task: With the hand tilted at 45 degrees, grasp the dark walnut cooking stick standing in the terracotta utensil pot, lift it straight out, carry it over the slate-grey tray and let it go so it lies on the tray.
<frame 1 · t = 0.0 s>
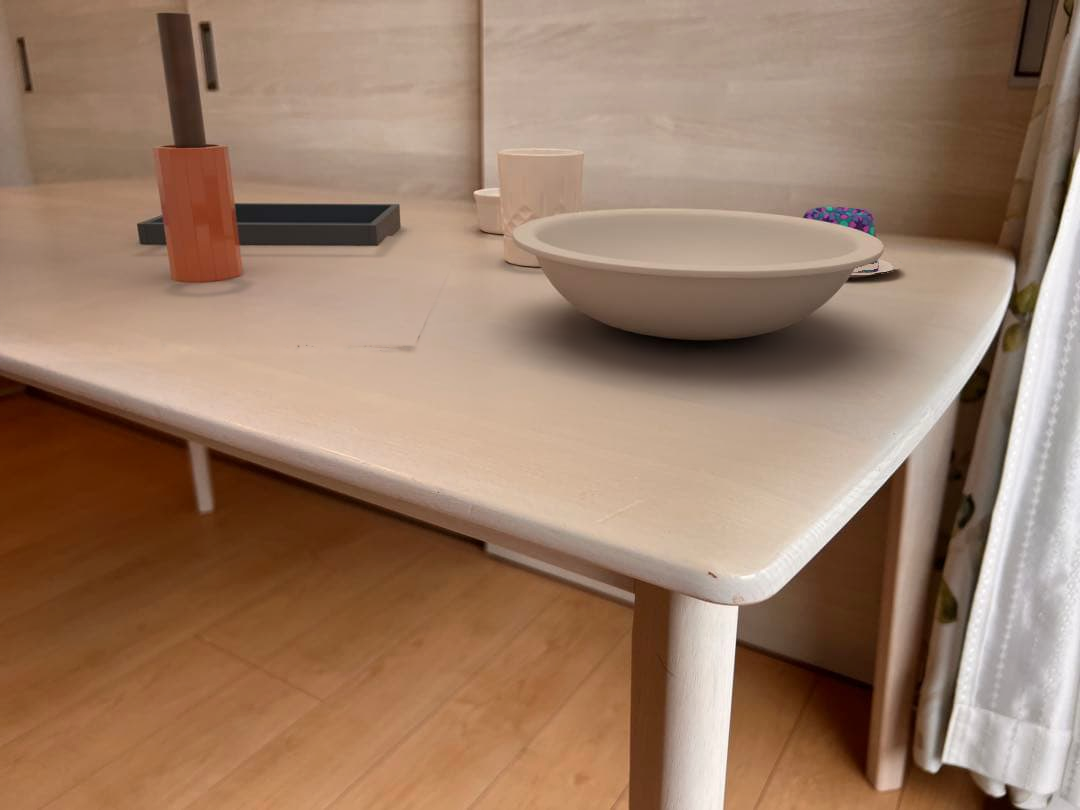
tray: (281, 237, 93), on the table
stick: (207, 274, 72), point 1 cm above the table, touching crock
white cup: (539, 262, 82), on the table
crock: (208, 281, 72), on the table
ramekin: (513, 231, 99), on the table
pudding: (832, 270, 79), on the table
soup bowl: (685, 331, 59), on the table
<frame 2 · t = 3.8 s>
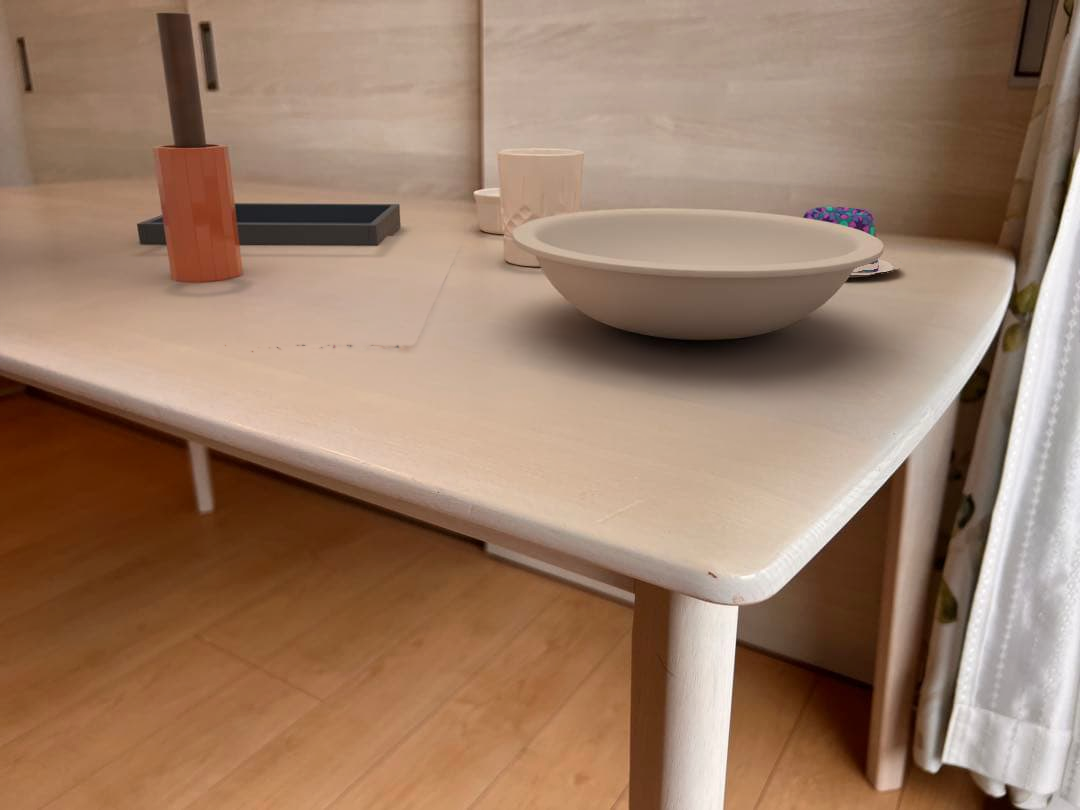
nothing on the table moved.
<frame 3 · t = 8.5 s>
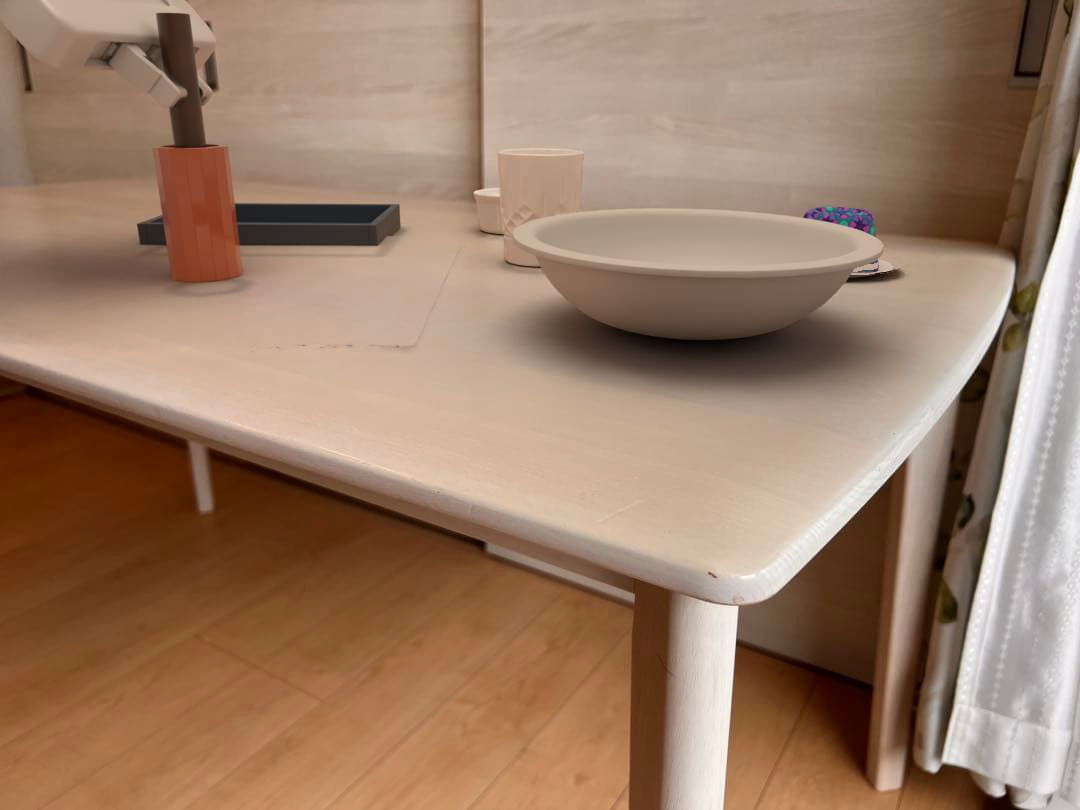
hand: (191, 101, 67), 14 cm above the table, tool tilted 45°, fingers closed on stick, 2 cm apart
stick: (207, 274, 72), point 1 cm above the table, touching crock, gripper
everything else where it was.
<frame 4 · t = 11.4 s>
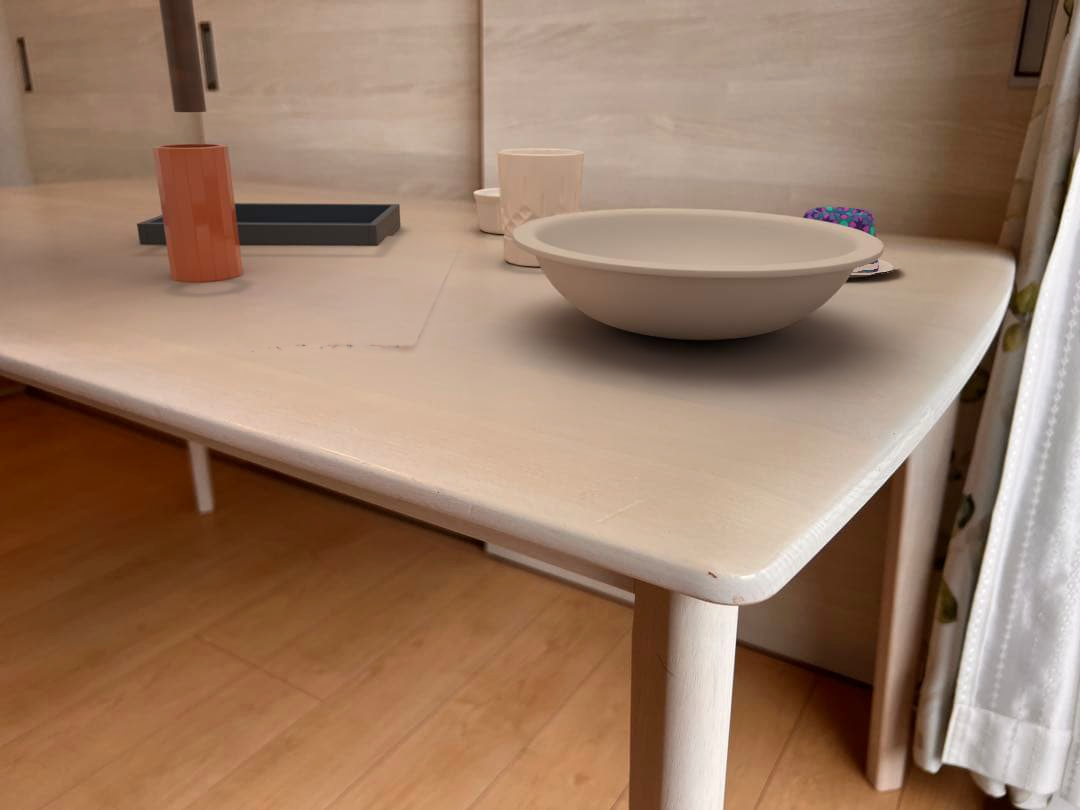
stick: (190, 111, 68), point 14 cm above the table, touching gripper
everything else where it was.
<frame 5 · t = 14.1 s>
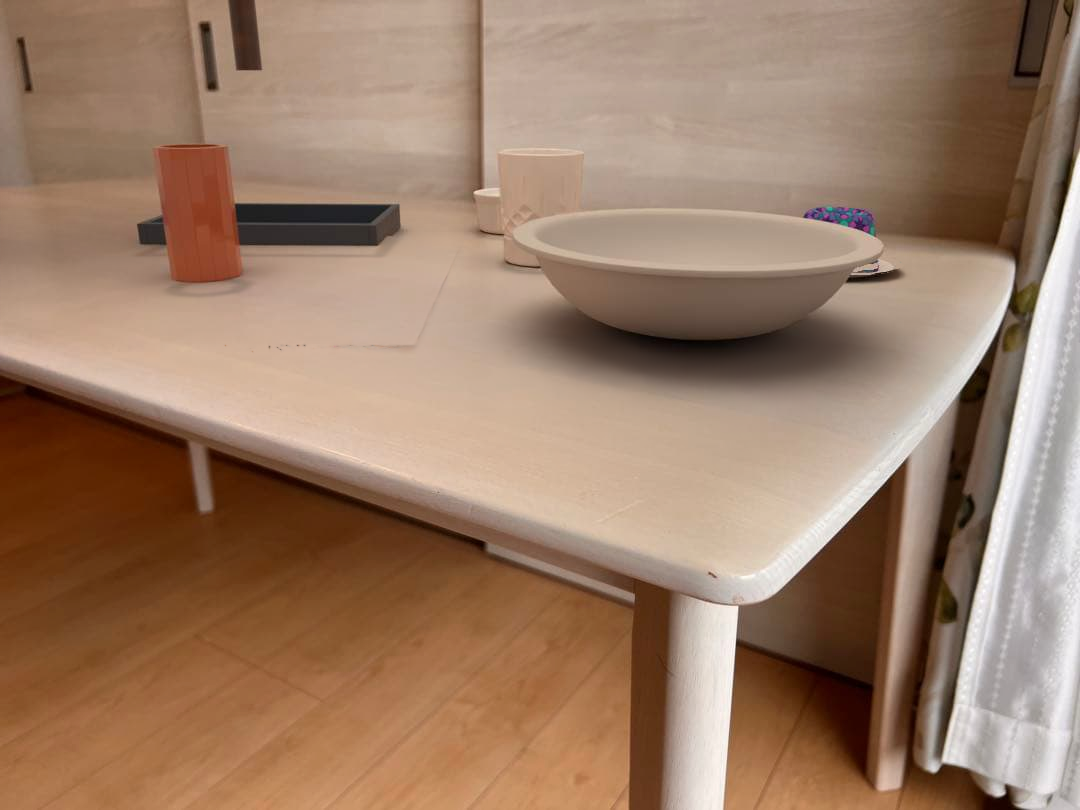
stick: (249, 70, 82), point 17 cm above the table, touching gripper
everything else where it was.
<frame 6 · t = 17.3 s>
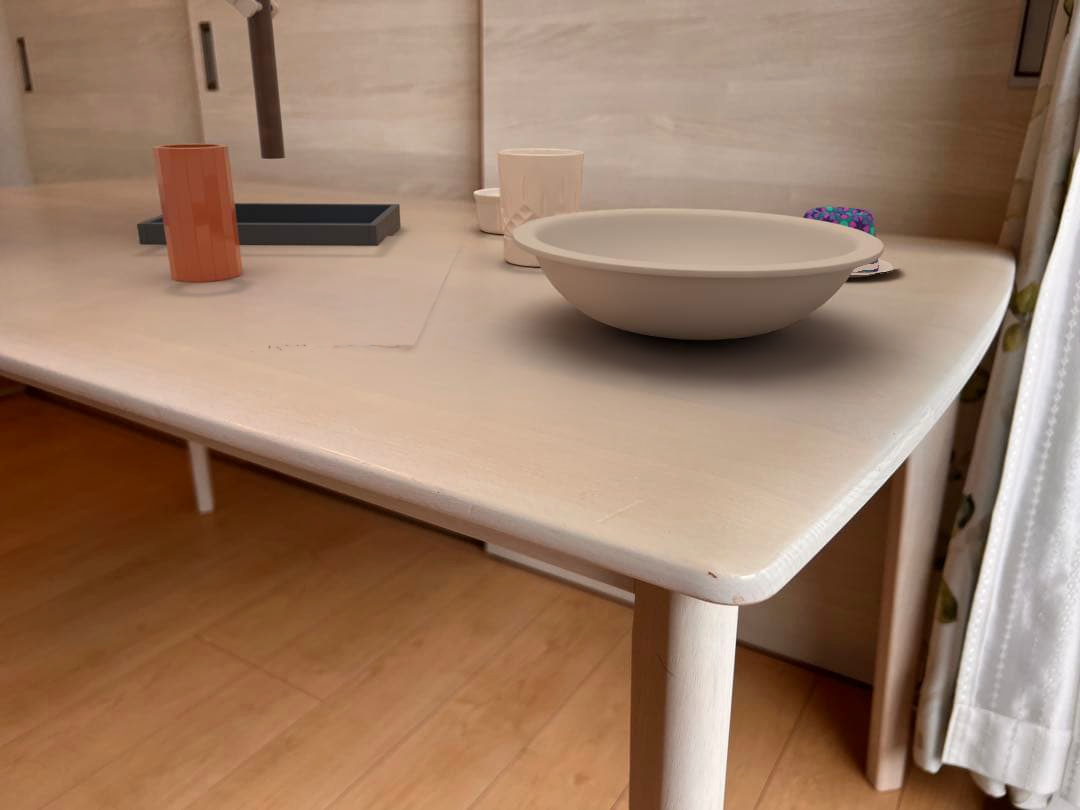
hand: (264, 14, 85), 22 cm above the table, tool tilted 45°, fingers closed on stick, 2 cm apart
stick: (273, 157, 90), point 8 cm above the table, touching gripper
everything else where it was.
when the fingers open (14 cm above the table, at t = 19.7 s): stick stays where it is, resting on tray.
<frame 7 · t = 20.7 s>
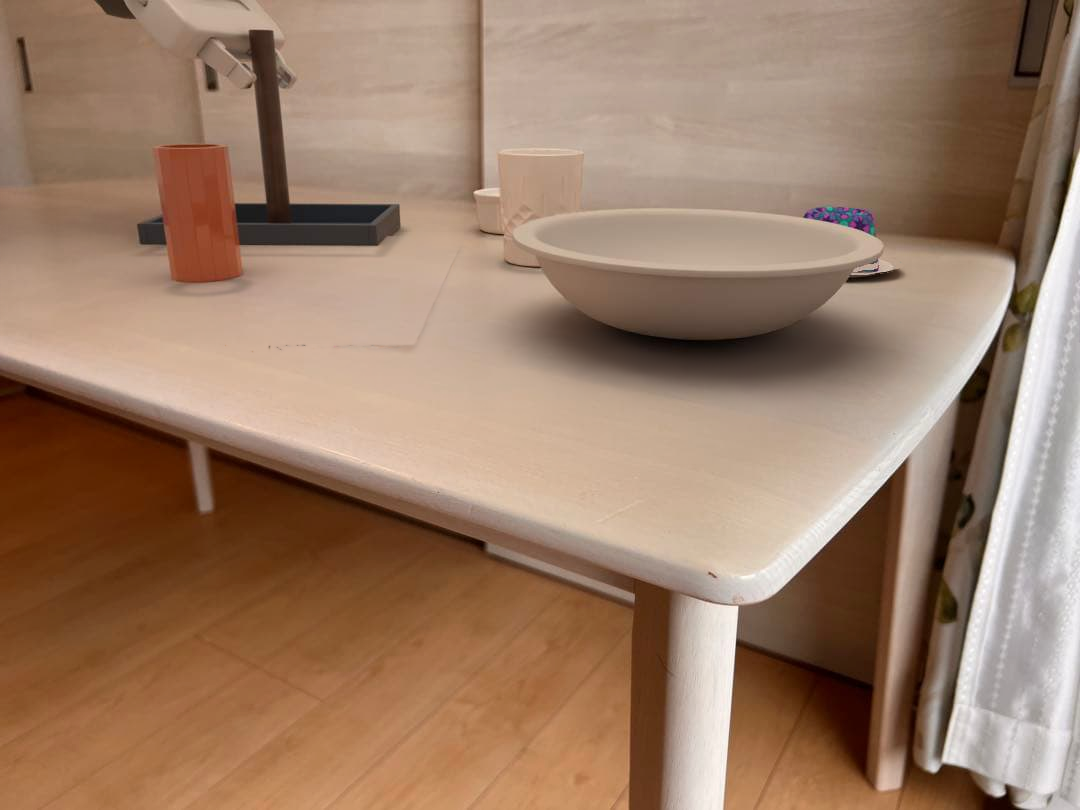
hand: (271, 84, 87), 16 cm above the table, tool tilted 45°, fingers open, 8 cm apart
stick: (280, 231, 93), point 1 cm above the table, touching tray
everything else where it was.
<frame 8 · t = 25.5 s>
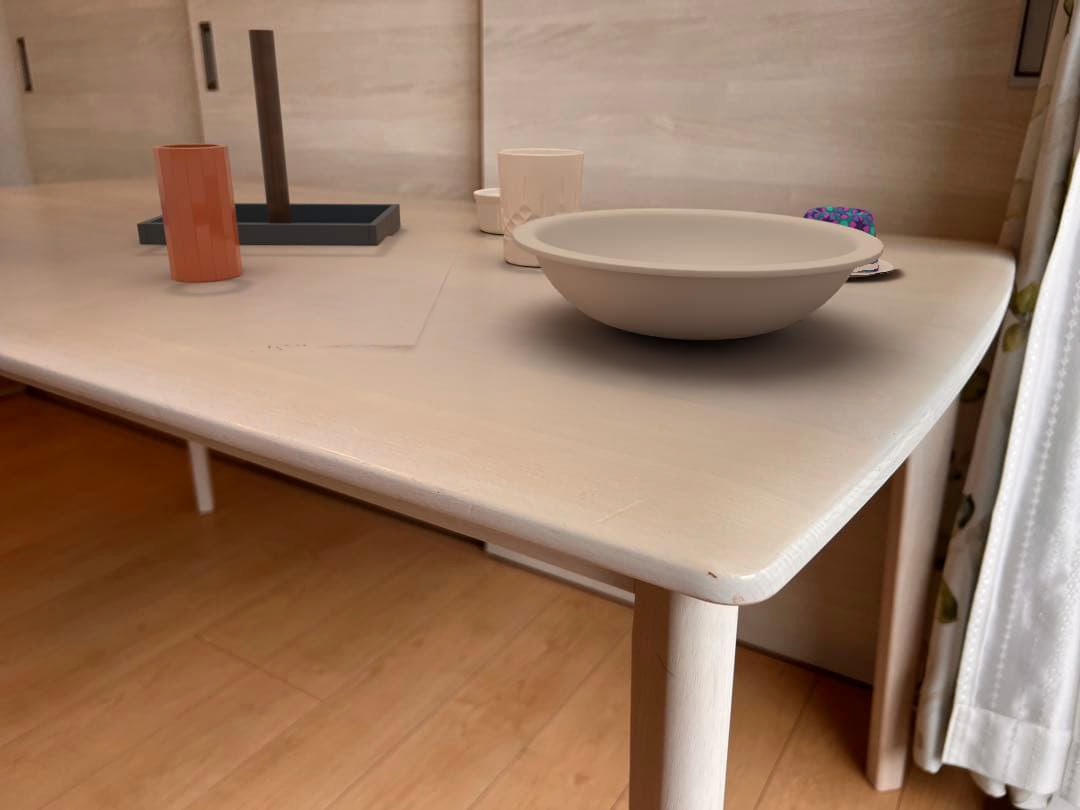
nothing on the table moved.
at the end: stick inside the target area in the tray (0.2 cm from its centre), point 0.6 cm above the tray's base; stick touching tray; the gripper is holding nothing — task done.
